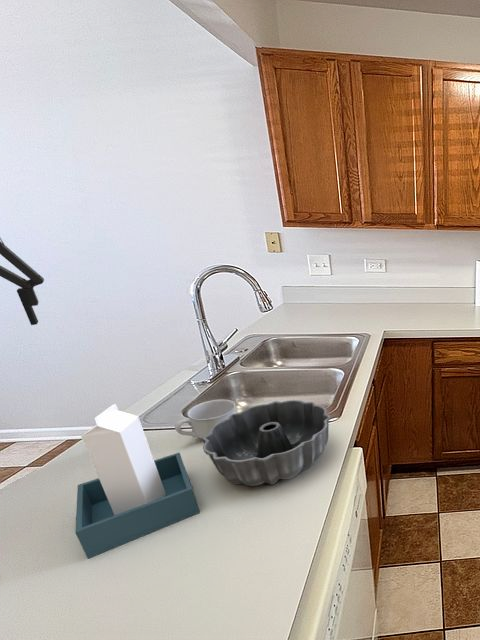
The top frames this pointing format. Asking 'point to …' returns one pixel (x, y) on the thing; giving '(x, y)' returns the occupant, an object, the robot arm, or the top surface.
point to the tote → (133, 510)
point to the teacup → (206, 417)
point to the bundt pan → (268, 441)
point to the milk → (123, 460)
